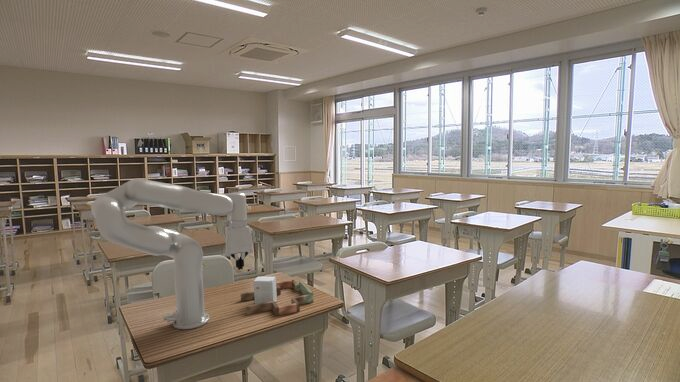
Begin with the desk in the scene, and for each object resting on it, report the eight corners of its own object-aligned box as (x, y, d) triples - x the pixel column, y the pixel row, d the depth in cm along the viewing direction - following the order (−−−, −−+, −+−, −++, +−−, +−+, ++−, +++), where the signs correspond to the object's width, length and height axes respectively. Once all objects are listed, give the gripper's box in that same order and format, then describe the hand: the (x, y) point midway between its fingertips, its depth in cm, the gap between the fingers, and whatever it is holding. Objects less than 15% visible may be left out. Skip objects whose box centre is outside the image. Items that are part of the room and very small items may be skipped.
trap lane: (250, 320, 138) (249, 310, 137) (238, 295, 163) (238, 286, 163) (318, 307, 149) (318, 297, 148) (297, 285, 174) (297, 276, 174)
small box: (277, 300, 156) (276, 276, 155) (273, 306, 151) (272, 281, 150) (258, 300, 157) (257, 276, 156) (254, 305, 152) (253, 280, 151)
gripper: (218, 227, 140) (221, 274, 142) (258, 223, 146) (260, 268, 148) (216, 224, 147) (219, 269, 149) (254, 220, 153) (256, 263, 155)
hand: (240, 268), depth 149 cm, fingers closed
